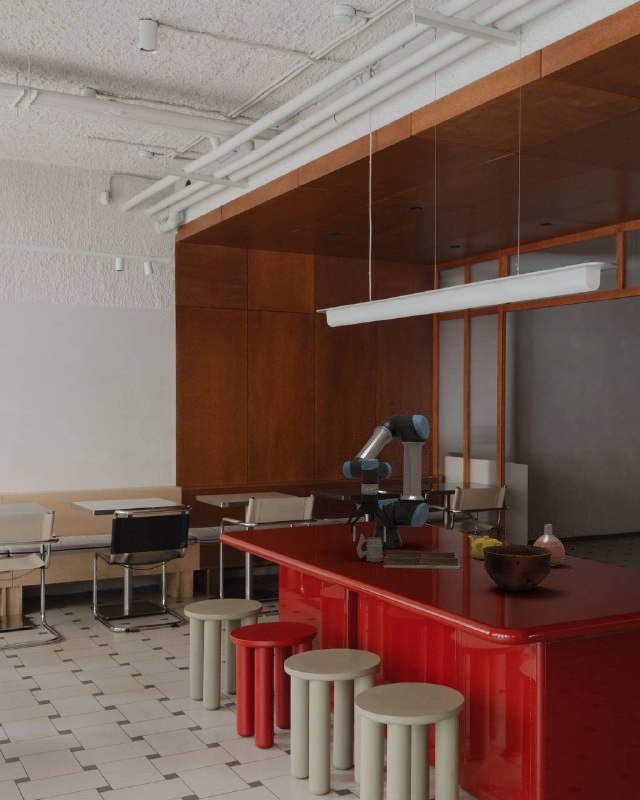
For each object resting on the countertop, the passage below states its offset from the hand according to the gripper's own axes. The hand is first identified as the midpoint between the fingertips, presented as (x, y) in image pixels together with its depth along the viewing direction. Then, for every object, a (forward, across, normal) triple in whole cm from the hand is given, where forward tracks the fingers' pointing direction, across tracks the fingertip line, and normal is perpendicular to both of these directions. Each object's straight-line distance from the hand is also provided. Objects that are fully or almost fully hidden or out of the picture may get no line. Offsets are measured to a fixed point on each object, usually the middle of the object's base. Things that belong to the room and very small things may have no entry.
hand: (369, 541), depth 401 cm
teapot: (+8, +51, +12) cm, 53 cm away
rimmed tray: (+8, +23, -6) cm, 26 cm away
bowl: (+9, +59, -60) cm, 84 cm away
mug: (+9, 0, 0) cm, 9 cm away
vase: (+8, +77, -4) cm, 78 cm away
